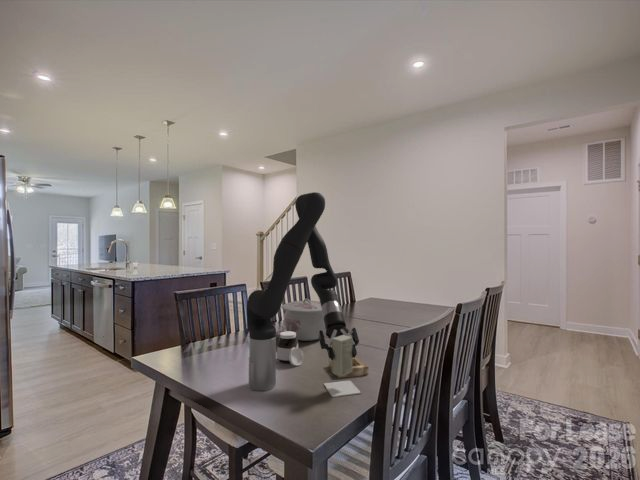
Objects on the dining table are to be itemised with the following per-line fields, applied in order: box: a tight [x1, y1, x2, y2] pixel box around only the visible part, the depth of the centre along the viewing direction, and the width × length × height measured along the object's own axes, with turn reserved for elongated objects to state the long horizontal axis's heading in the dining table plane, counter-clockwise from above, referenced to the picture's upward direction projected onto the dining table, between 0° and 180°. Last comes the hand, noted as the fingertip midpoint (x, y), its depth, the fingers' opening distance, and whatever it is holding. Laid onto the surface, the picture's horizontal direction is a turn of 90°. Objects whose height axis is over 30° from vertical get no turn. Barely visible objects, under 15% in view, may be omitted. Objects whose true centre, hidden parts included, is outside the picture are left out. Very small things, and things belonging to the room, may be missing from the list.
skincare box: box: [331, 335, 353, 376], centre depth 114 cm, size 6×4×12 cm
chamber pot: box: [280, 298, 326, 342], centre depth 175 cm, size 28×28×21 cm
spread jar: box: [276, 330, 304, 367], centre depth 139 cm, size 12×11×12 cm
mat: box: [323, 380, 362, 398], centre depth 114 cm, size 10×10×1 cm
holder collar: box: [328, 355, 369, 379], centre depth 130 cm, size 12×12×3 cm
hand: (343, 357), depth 113 cm, fingers closed on skincare box, 7 cm apart
